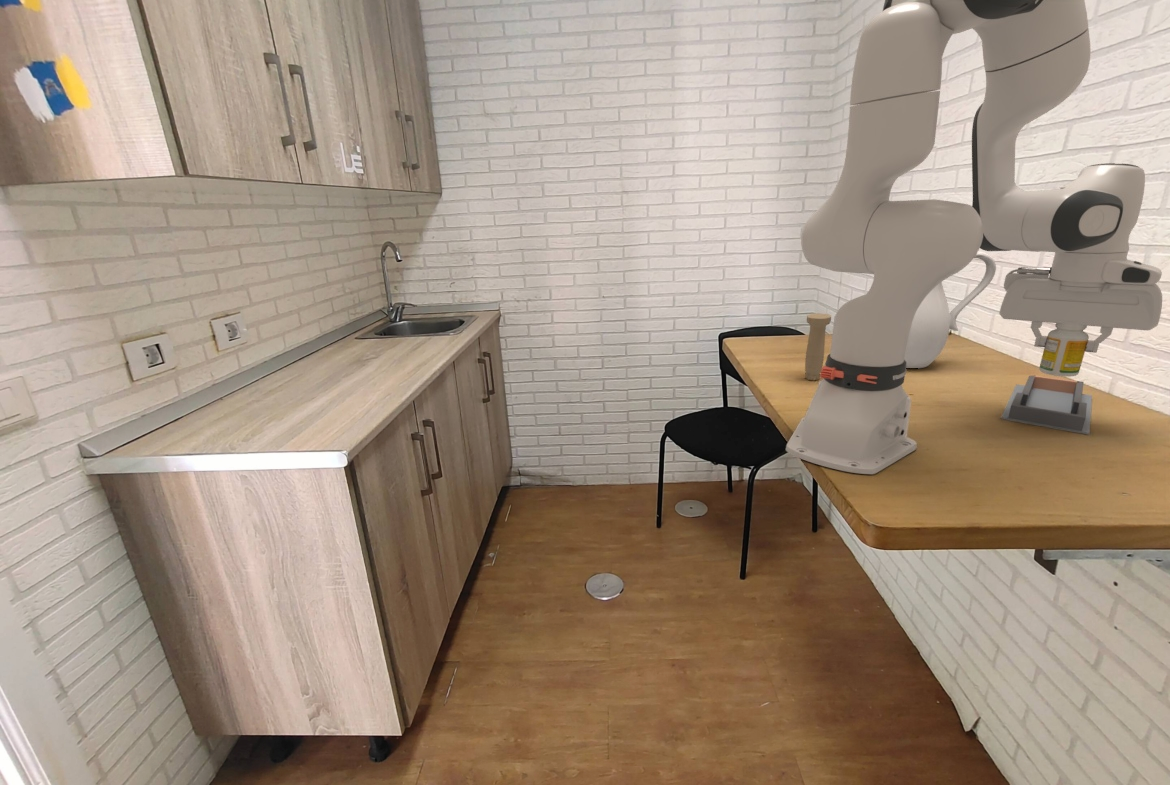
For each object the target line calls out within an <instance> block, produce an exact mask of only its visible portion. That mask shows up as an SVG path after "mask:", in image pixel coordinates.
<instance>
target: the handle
mask: <svg viewBox="0 0 1170 785" xmlns="http://www.w3.org/2000/svg"><path fill="white" fill-rule="evenodd" d="M831 320H832V315H831V314H829V313H816V312H815V313H811V314H808V315H807V316H806V323H807V324H809V333H808V340H807V346H806V350H805V362H804V368H805V369H804V370H805V373H804V375H805V376H804V378H805V379H807V381H816V380H820V379H821V370H822V367H823V366H824V365H823V364H824V360H825V359H824V358H825V344H826V328H827V326H828V325H830V323H831Z"/></svg>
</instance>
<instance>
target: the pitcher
mask: <svg viewBox="0 0 1170 785" xmlns="http://www.w3.org/2000/svg"><path fill="white" fill-rule="evenodd" d="M973 259H979V260H981V261H982V262H983V263H984V264H985V273H984V276H983V277H982V279H981V281H980V282H979V283H978V285H977V286H976V287H975V288H974V289H973V290H972V291H970V293H968V295H967V296H966V297H964V299H962V300H961V301H960V302H959V303H958V304H957V305H956V306H955V307H954V308H953V309H951V311H950V309H949V304H948V301H947V297H946V293H945V290H944V285H943V283H942V282H943V281H942V282H941V283H940V284H938V285H937V286H936V287H935V288H934V289H933V290H931V292H930V293H929V294H928V295H927V296H926V297H925V299H924V300H923V301H922V303H921V304H920V306H919V307H918V309H917V311H916V313H915V316H914V318H913V321H912V325H911V329H910V333H909V337H908V342H907V347H906V352H905V357H904V360H905V361H906V368H918V369H924V368H927V367H929V366H930V365H931V364H932V363H933V362H934V361H935V360H936V359H937V358H938V356H939V355H940V354H941V353H942V351H943V350H944V347H945V346H946V344H947V341H948V338H949V337H948V336H949V333H950V330H952V331H954V332H958V331H959V328H958V326H957V317H958V316H959V314H960V313H961V312H962V311H963V310H964V309H965V308H966V307H967V306H968V305H969V304H970V303H971V302H972V301H973V300H975V298H976V297H978V296H979V295H980V294H981V293H982V292H983V291H984V290H985V289H986V288H987V287H988V286H989V285H990V284H991V282H992V281H993V279H994V277H995V275H996V270H997V264H996V261H995V259H994V257H993V256H991V255H990V254H989V253H987V252H986V251H985V252H984V251H980V250H979V251H978V252H977V254H976V256H975V257H974V258H973Z"/></svg>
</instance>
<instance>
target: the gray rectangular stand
mask: <svg viewBox="0 0 1170 785" xmlns="http://www.w3.org/2000/svg"><path fill="white" fill-rule="evenodd" d="M1084 385H1085V383H1084V381H1079V380H1074V379H1073V380H1071V379H1064V378H1059V377H1058V378H1057V377H1050V376H1049V377H1048V376H1042V375H1036V374H1029V375H1028V378H1027V379H1026V383H1025V385H1023V384H1019V383H1018V384H1017V383H1016V384H1015V387H1014V389H1013V391H1012V393H1011V396H1010V398H1009V399H1008V402H1007V404H1006V406H1005V408H1004V410H1003V412H1002V414H1001V416H1000V419H1001V420H1006V421H1011V422H1015V423H1016V422H1017V423H1022V424H1028V425H1033V426H1039V427H1044V428H1049V429H1055V430H1060V431H1067V432H1071V433H1076V434H1082V435H1088V436H1089V435H1090V433H1091V432H1090V431H1091V418H1092V402H1093V401H1092V400H1093V395H1092V394H1086V393H1085V394H1084Z"/></svg>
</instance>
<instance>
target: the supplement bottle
mask: <svg viewBox="0 0 1170 785" xmlns="http://www.w3.org/2000/svg"><path fill="white" fill-rule="evenodd" d="M1054 324H1055V329H1052V330H1050V331H1049V332H1048V334H1047V335H1046V336H1047V340H1046V344H1045V347H1043V352H1042V356H1041V360H1040V363H1039V371H1040V372H1041V373H1043V374H1046V375H1050V376H1055V377H1070V378H1071V377H1076V376H1077V375H1079V373H1080V371H1081V366H1082V363H1083V359H1084V356H1085V353H1086V352H1085V349H1086V346H1087V342H1088V340H1090V339H1089V338H1090V337H1089V335H1088V333H1087V332H1085V331H1084V330H1086V329H1087V328H1088V326H1085V325H1080V324H1079V323H1078V322H1064V323H1061V324H1060V323H1054Z"/></svg>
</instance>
